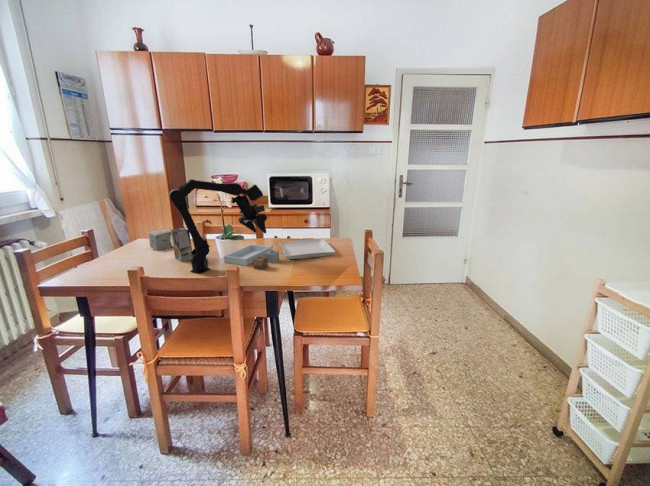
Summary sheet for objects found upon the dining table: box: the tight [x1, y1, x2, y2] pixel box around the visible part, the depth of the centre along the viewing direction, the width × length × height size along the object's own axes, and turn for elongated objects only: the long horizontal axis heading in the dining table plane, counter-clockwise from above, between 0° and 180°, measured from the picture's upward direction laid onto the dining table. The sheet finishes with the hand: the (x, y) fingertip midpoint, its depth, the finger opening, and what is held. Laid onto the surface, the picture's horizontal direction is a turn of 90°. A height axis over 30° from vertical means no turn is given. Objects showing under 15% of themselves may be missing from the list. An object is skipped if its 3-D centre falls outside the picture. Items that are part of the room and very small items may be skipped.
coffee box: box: [169, 227, 193, 262], centre depth 158 cm, size 9×6×16 cm
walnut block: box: [252, 256, 269, 271], centre depth 144 cm, size 5×5×5 cm
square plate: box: [278, 238, 337, 260], centre depth 167 cm, size 27×27×4 cm
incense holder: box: [148, 228, 173, 251], centre depth 179 cm, size 10×8×10 cm
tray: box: [223, 244, 270, 267], centre depth 159 cm, size 22×14×4 cm, turn 156°
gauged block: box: [265, 244, 280, 264], centre depth 152 cm, size 5×5×8 cm
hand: (260, 232), depth 153 cm, fingers open, 9 cm apart
